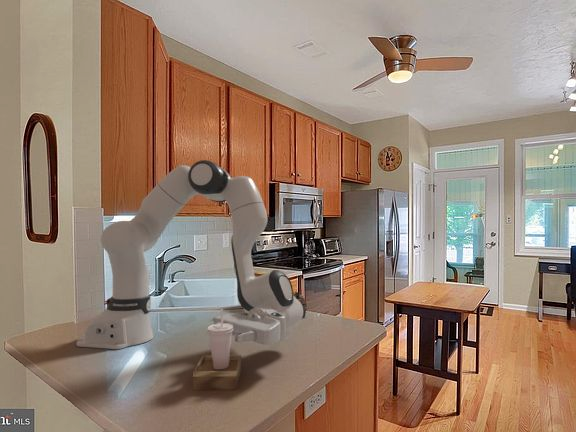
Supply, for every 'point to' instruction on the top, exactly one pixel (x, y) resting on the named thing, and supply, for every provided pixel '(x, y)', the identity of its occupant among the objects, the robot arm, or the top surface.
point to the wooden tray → (216, 374)
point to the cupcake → (302, 301)
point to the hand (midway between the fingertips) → (223, 335)
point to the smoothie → (220, 343)
